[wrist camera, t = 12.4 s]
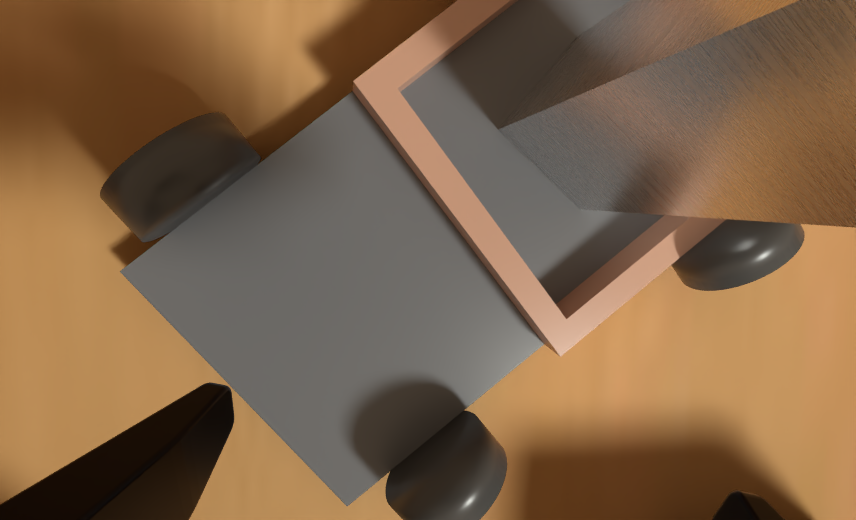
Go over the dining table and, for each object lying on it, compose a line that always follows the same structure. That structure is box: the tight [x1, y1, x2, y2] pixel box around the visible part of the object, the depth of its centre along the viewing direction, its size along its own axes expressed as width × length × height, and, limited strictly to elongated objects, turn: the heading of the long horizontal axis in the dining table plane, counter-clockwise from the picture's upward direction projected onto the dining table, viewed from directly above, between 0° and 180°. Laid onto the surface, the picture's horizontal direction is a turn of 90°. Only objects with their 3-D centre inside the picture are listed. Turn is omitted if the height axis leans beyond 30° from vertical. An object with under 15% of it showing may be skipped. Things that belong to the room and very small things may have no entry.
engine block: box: [498, 0, 856, 228], centre depth 12 cm, size 4×4×12 cm
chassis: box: [100, 0, 804, 520], centre depth 17 cm, size 22×15×4 cm
